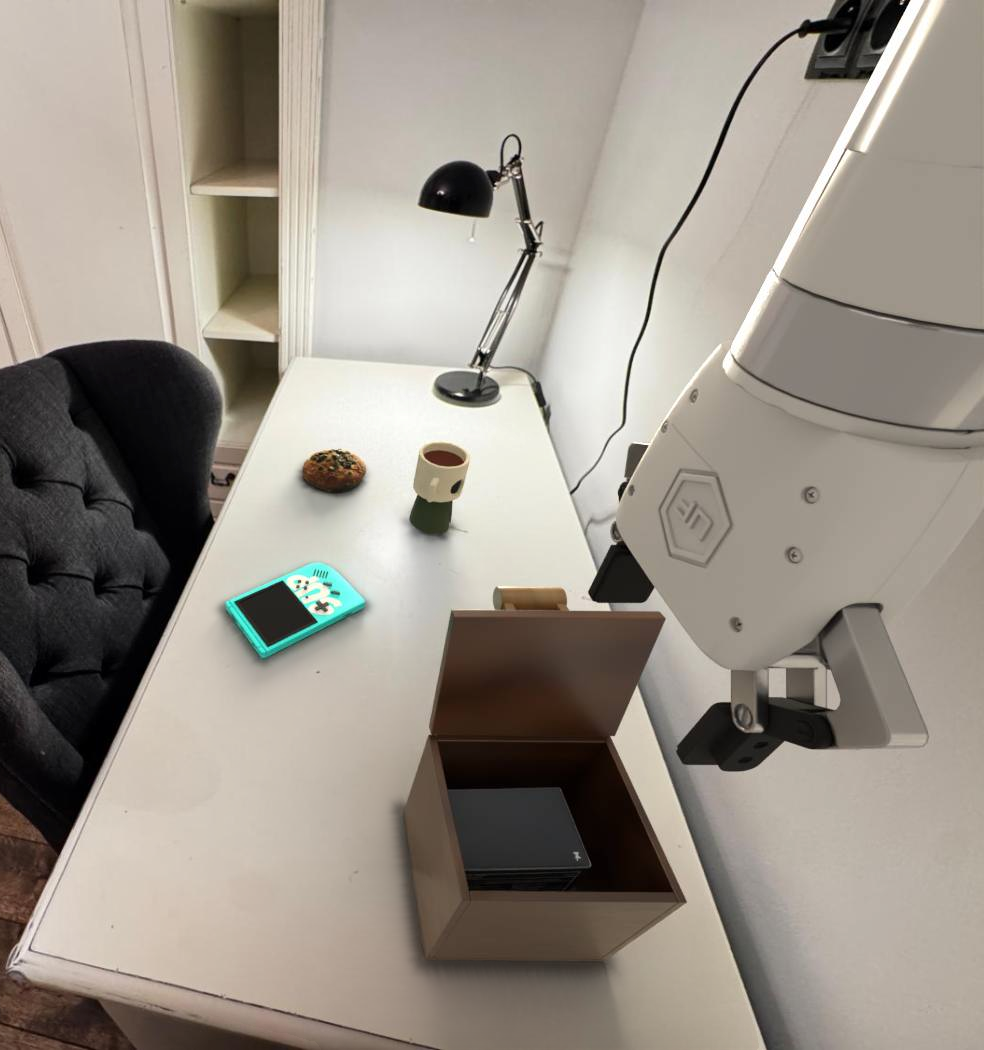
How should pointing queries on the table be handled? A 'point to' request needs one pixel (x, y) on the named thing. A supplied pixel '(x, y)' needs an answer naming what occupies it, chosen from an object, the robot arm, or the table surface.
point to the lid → (540, 666)
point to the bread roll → (334, 470)
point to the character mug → (438, 485)
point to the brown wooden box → (536, 916)
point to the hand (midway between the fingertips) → (657, 668)
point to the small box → (518, 839)
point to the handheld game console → (293, 607)
